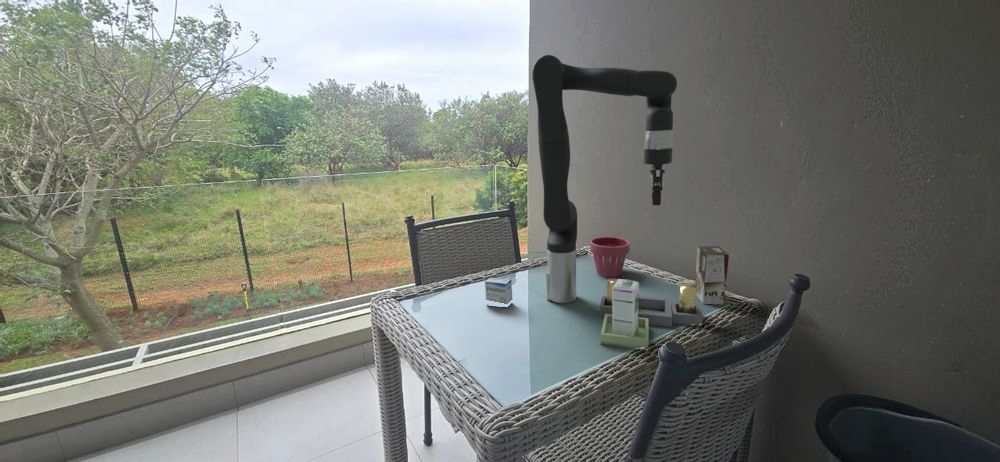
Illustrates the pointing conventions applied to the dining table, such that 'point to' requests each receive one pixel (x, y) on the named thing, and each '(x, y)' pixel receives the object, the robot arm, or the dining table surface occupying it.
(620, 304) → the syrup box
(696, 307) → the socket block
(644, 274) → the dining table surface
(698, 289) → the coffee box
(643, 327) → the tray
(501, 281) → the medicine box
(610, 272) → the plant pot
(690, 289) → the right brass peg
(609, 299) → the left brass peg
